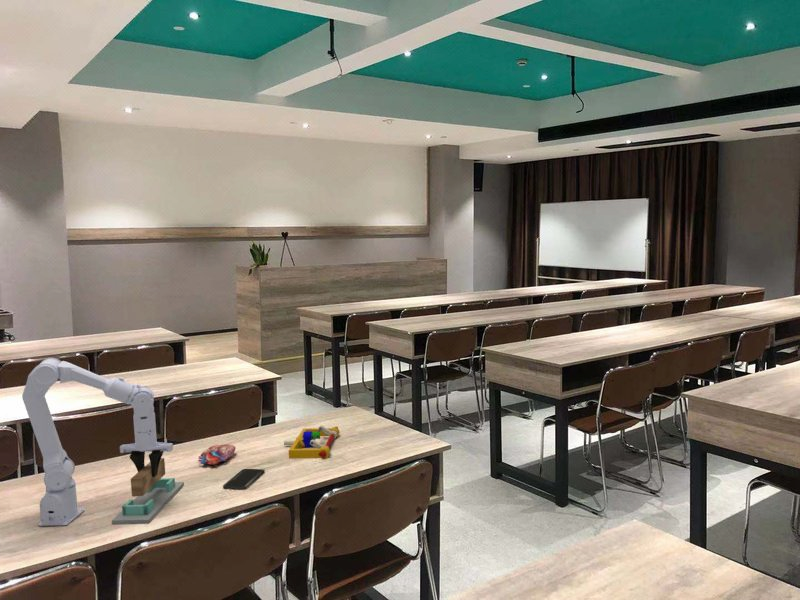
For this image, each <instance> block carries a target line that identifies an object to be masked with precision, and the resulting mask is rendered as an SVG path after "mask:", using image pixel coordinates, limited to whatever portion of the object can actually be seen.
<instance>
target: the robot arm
mask: <svg viewBox="0 0 800 600" xmlns="http://www.w3.org/2000/svg"><path fill="white" fill-rule="evenodd" d="M58 380H59V384H64V383H68V382H76V383H80V384H83V385H86V386H88V387H91V388H92V387H93V388H94V389H97V390H101V391H102V392H103V393H104V396H105V397H107V398H109V399H112V400H116V401H118V402H120V403H123V404H126V405H131V407H132V409H133V418H132V419H133V433H134V442H133V443H127V444H126V443H125V444H121V445H119V452H120V454H124V453H130V455H129V459H130V460H131V462H132V463H133V465H134V466H135V468H136V470H137V473H138V472H139V471H140V470H141V469H143V468H144V467H145V466H146V464H145V455H146V453H147V452H151V453H149V454H148V459H149V462H150V463H151V472H152V477H155V476H156V475H157V473H158V467H159V463H160V460H161V458H163V454H164V453H165V452H166V453H170V452H172V451H173V450H174V445H173V444H174V443H171V442H163V441H161V442H160V441H157V425H156V413H155V407H154V402H155V400H154V398H155V393H154V392H153V390H152V389H151V388H149V387H148V386H146V385H141V384H139V383H137V384H134V383H132V382H129V381H126V380H125V377H123V376H119V377H117V376H114V377H111V378H106V377H104V376H101V375H99V374H97V373H94V372H93V371H90V370H87V369H85V368H82V367H80V366H79V365H78V366H77V365H76V364H73V363H71V362H68V361H65V360H62V361H61V360H60V359H58V358H55V357H48V358H45V359H44V360H42V361H41V362H40V363H39V364H38V365H36V366H35V367H34V368H33V369H32V371H31V372H30V373H29V374H28V376H27V380H26V384H25V386H24V389H23V392H22V395H21V396H22V398H21V399H22V401H23V404H24V406H25V409H26V413H27V415H28V418H29V421H30V423H31V424H30V425H31V427H32V430H33V433H34V436H35V438H36V442H37V444H38V448H39V450H40V452H41V457H42V460H43V461H42V465H43V466H42V469H43V471H44V475H43V476H44V477H43V483H44V485H45V494H44V495H43V497H42V498H41V499H40V501H39V511H40V514H39V515H40V522H39V523H38V527H42V526H45V527H49V526H51V527H53V526H67V525H69V524H70V523H71V522H73V521H74V520H75V519H76V518H78V517H79V516H80V515H81V514H82V513H83V512H84V511H85V508H79V507H78V498H77V488H76V480H75V479H74V478H73V474H74V472H75V470H76V469H75V468H76V466H75V463H74V461H73V460H72V459H71V458H69V456H68V454H67V451H66V450H65V449H64V448H63V446H62V443H61V440H60V437H59V434H58V431H57V429H56V425H55V423H54V420H53V417H52V414H51V411H50V407H49V405H48V402H47V399H46V397H45V396H46V394H47V393H48V391H49V390H50V388H51V387H52V386H53V385H54V384H56V383H57V381H58Z"/></svg>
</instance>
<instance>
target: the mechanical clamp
mask: <svg viewBox="0 0 800 600" xmlns="http://www.w3.org/2000/svg"><path fill="white" fill-rule="evenodd" d="M339 435H340V430H339V427H338V426H334V427H325V426H323V425H321V424H320V425H319V426H318V427H317V428H315V427H313V428H306V427H305V428H302V430H301V431H300V433H299V434H298V436H297V437H296V438H295V440H284V441H283V446H290V448H289V449H288V459H328V457H329V456H330V453H331V449H330V447H331V444H332V442H333V441H334V440H335V439H337V438H338V437H339ZM320 436H329V437H328V440H327V441H326V443H325V445H323V444H321V443H320V442H318V441H316V440H318V439H319V440H320V439H321V437H320ZM336 437H337V438H336ZM300 447H304V448H300ZM313 447H314V448H313ZM299 448H300V449H299Z"/></svg>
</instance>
